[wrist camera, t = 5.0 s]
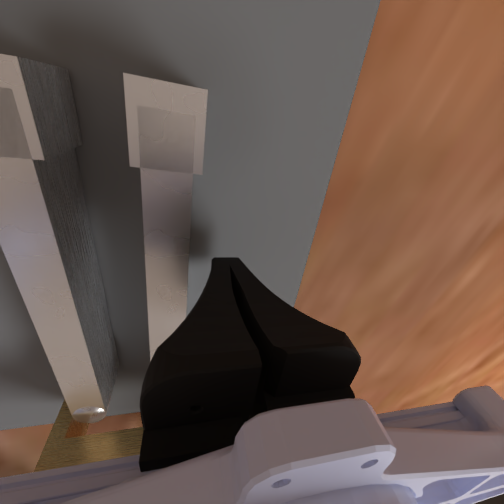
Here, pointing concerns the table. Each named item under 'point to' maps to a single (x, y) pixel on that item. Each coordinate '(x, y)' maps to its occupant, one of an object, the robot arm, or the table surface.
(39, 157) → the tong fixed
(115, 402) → the mat
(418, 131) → the table surface
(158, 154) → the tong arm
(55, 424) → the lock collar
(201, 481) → the robot arm
